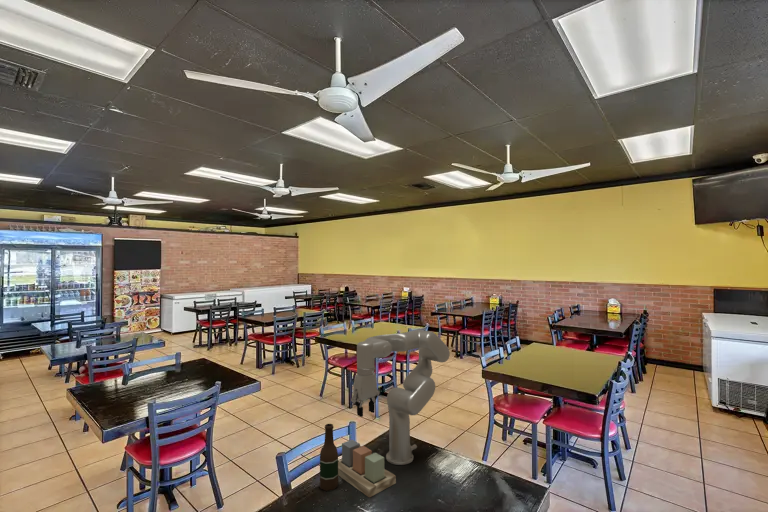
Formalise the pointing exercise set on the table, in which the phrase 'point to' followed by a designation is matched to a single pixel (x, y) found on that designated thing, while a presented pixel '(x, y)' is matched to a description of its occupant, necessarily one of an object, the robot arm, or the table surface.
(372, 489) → the birch board
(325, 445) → the beer bottle
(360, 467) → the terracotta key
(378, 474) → the sage key
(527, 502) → the table surface
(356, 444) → the slate key
